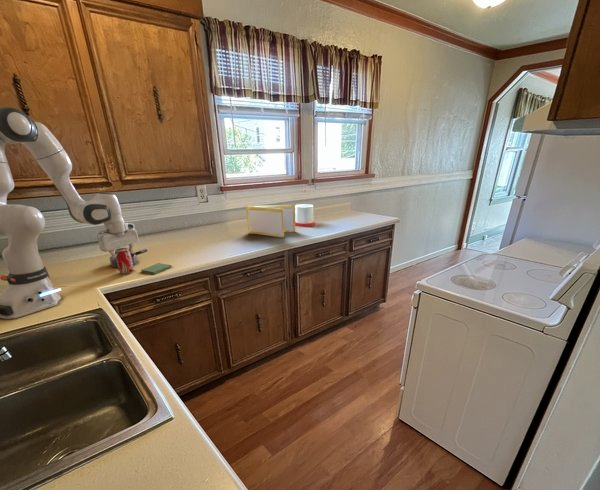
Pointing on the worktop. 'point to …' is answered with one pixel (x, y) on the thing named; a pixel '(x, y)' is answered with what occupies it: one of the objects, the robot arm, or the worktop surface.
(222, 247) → the worktop surface
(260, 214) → the white yellow panel stand
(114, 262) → the pan
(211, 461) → the worktop surface
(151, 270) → the green flat block
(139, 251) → the pan handle
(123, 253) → the soda can
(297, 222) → the container
